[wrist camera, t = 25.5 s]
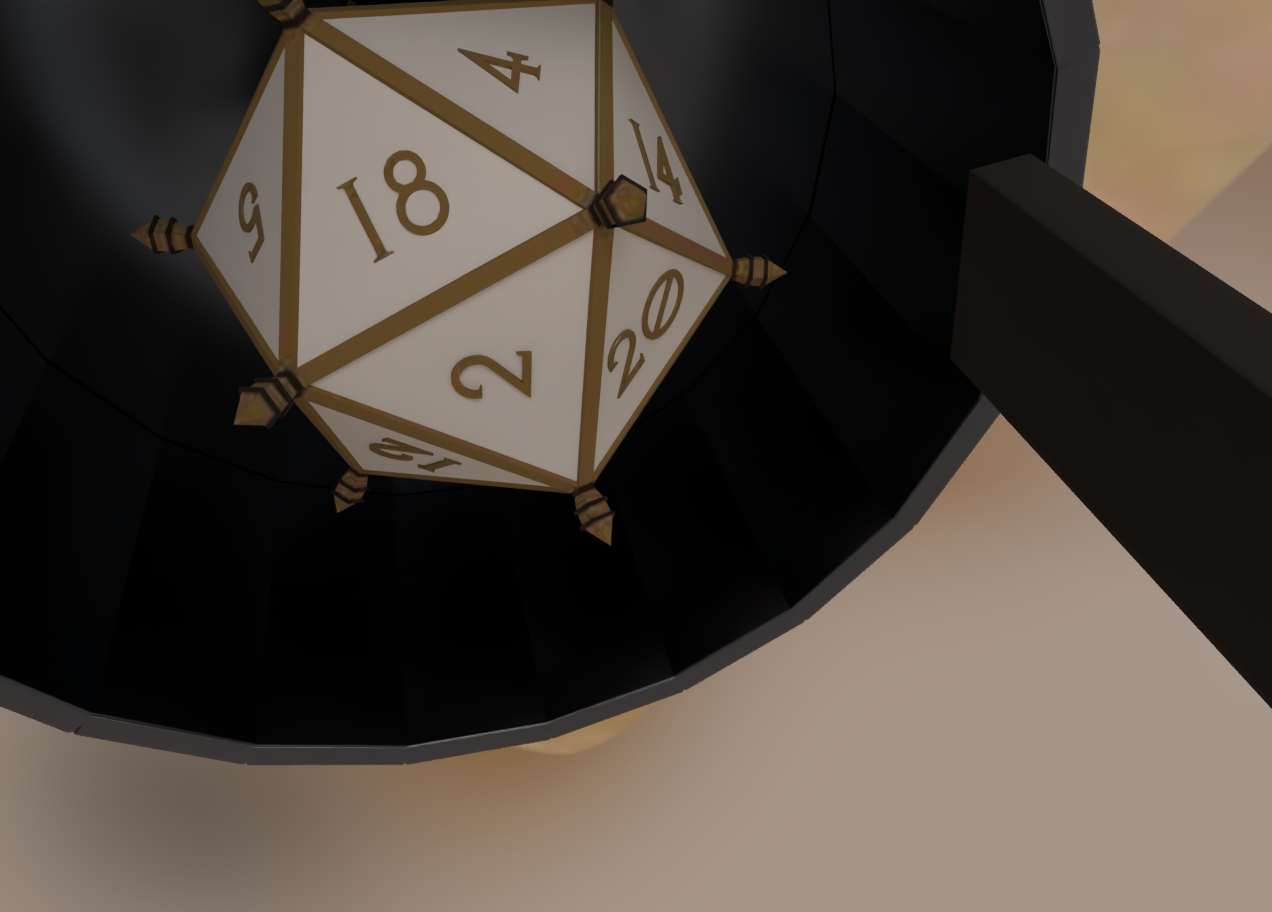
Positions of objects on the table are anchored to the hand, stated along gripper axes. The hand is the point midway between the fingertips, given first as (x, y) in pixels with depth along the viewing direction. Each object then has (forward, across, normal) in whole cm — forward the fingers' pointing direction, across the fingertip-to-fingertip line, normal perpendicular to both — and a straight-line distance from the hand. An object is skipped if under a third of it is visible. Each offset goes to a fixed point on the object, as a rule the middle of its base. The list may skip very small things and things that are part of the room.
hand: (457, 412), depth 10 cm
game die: (+8, +1, 0) cm, 8 cm away
